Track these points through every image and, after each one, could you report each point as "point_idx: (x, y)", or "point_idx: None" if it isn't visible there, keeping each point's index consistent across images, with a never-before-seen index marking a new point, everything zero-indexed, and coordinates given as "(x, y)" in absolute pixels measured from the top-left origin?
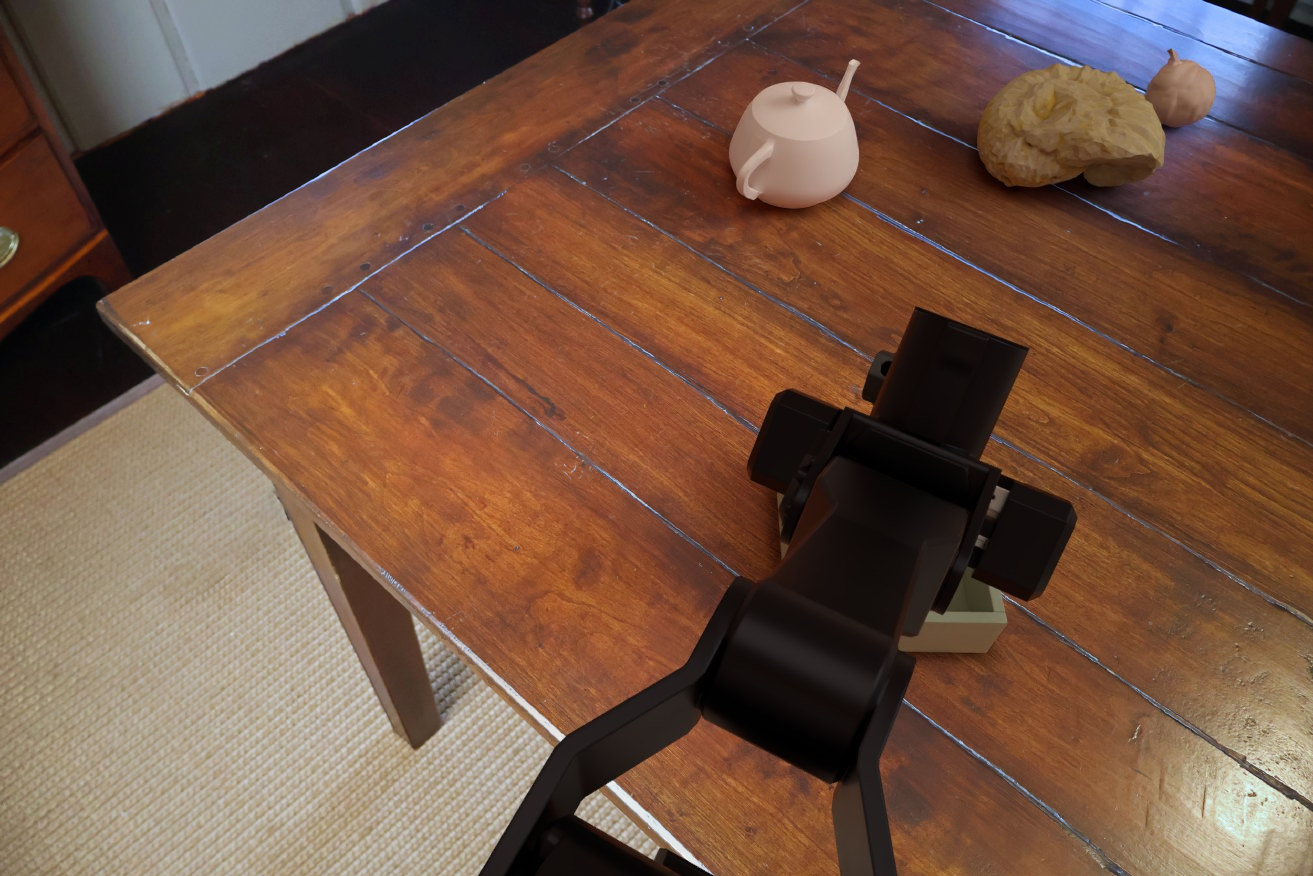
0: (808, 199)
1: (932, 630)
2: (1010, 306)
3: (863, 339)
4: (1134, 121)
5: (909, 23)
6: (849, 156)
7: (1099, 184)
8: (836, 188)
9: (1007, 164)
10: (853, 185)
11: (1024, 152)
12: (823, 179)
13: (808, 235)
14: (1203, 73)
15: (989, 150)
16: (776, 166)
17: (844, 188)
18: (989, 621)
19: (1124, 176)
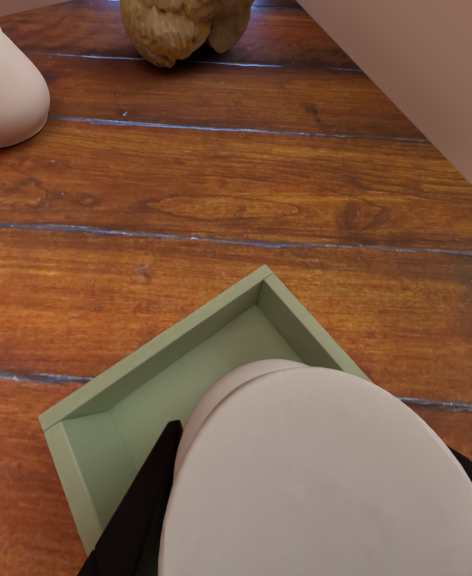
0: (10, 123)
1: None
2: (219, 141)
3: (126, 220)
4: None
5: (58, 9)
6: (17, 64)
7: (221, 50)
8: (31, 104)
9: (157, 38)
10: (63, 109)
11: (163, 21)
12: (4, 94)
13: (40, 158)
14: None
15: (140, 35)
16: None
17: (44, 105)
18: None
19: (233, 33)
